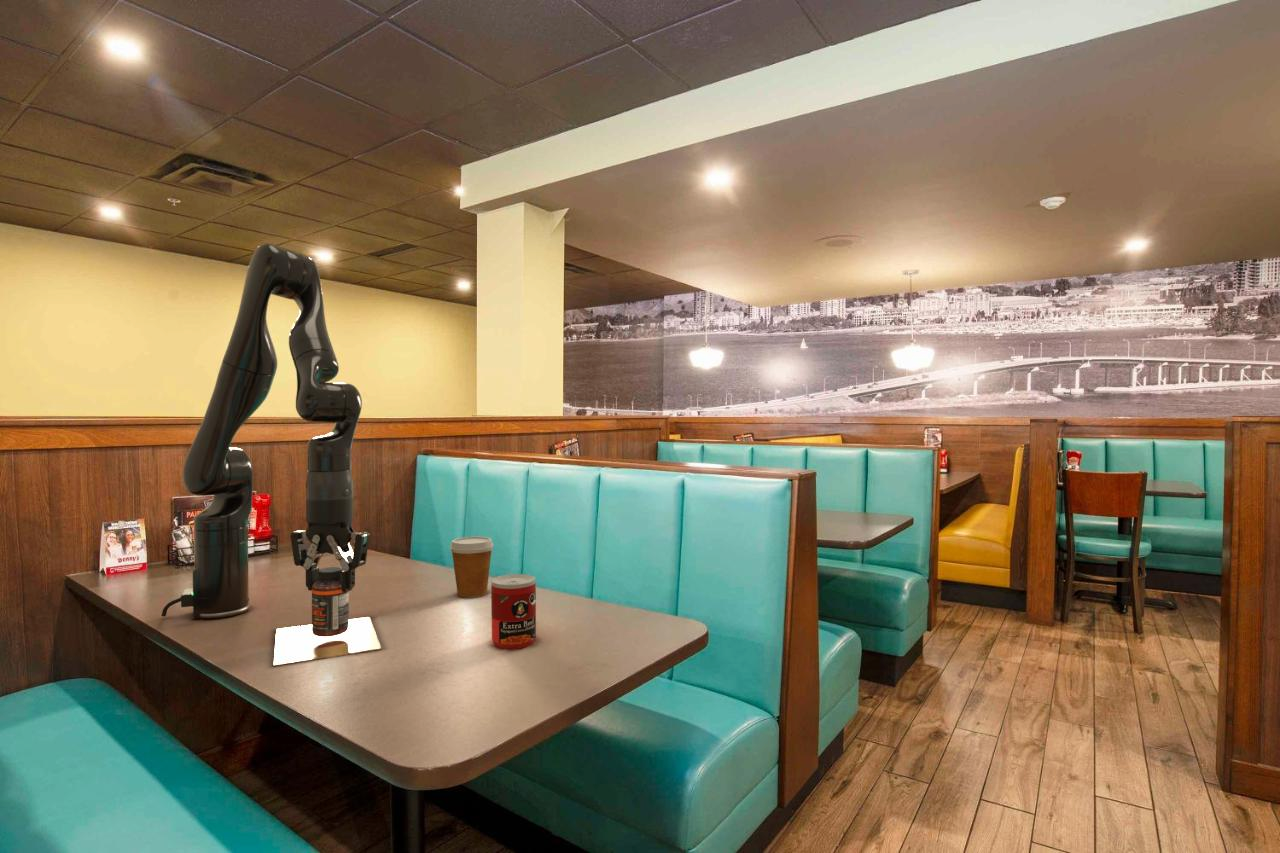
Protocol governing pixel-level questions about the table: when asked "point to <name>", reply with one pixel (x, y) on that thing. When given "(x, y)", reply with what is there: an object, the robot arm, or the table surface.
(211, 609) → the robot arm
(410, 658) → the table surface
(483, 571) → the disposable coffee cup
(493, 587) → the canned food
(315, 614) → the supplement bottle
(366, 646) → the placemat
